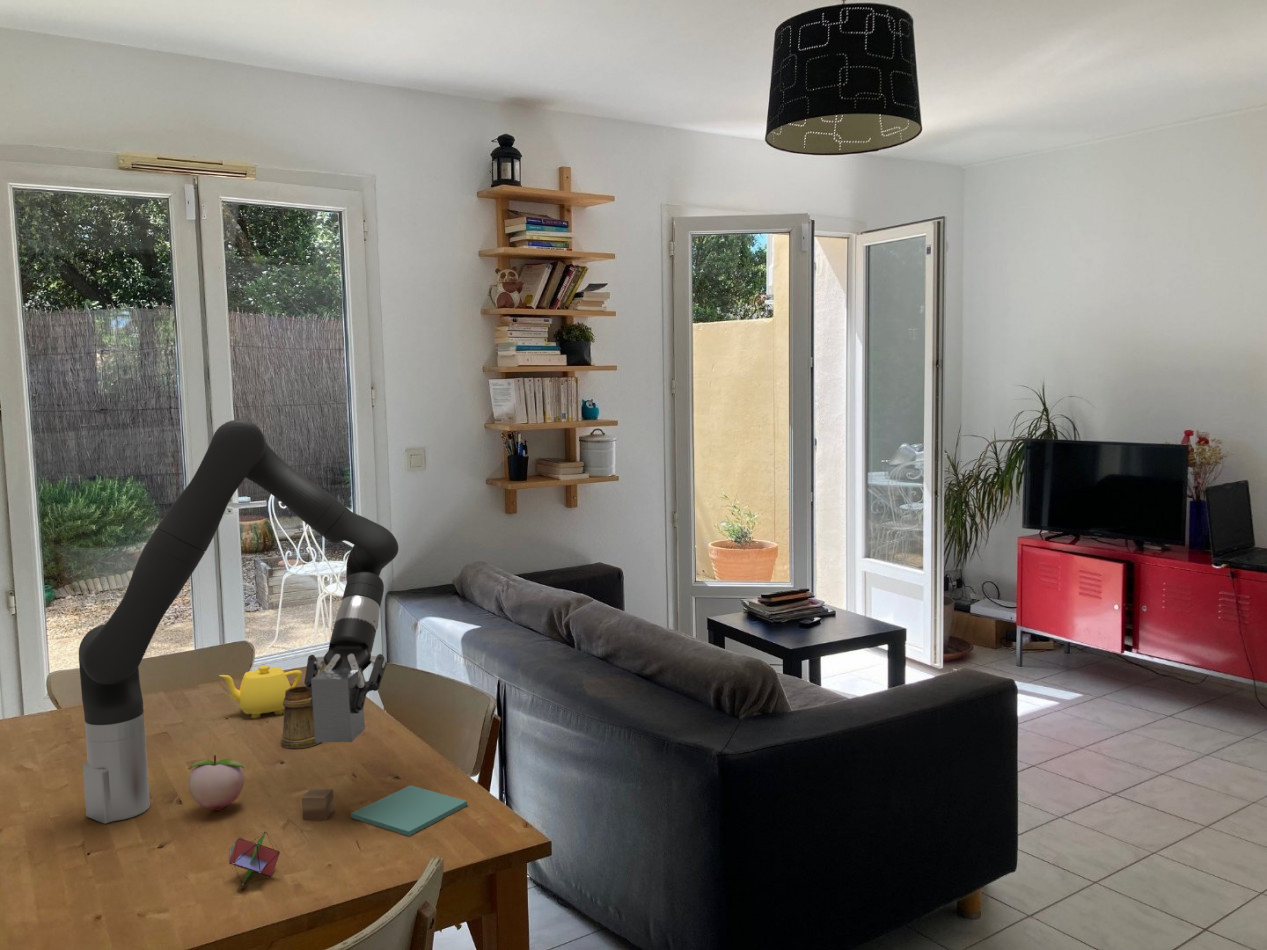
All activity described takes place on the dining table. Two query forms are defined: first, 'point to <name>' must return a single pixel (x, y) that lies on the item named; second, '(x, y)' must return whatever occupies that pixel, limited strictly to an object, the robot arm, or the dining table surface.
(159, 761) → the dining table surface
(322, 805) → the walnut block
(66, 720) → the dining table surface
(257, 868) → the geometric puzzle
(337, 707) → the block
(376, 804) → the teal mat
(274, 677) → the teapot
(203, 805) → the decorative fruit
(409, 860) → the dining table surface
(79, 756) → the dining table surface
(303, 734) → the wooden mug
